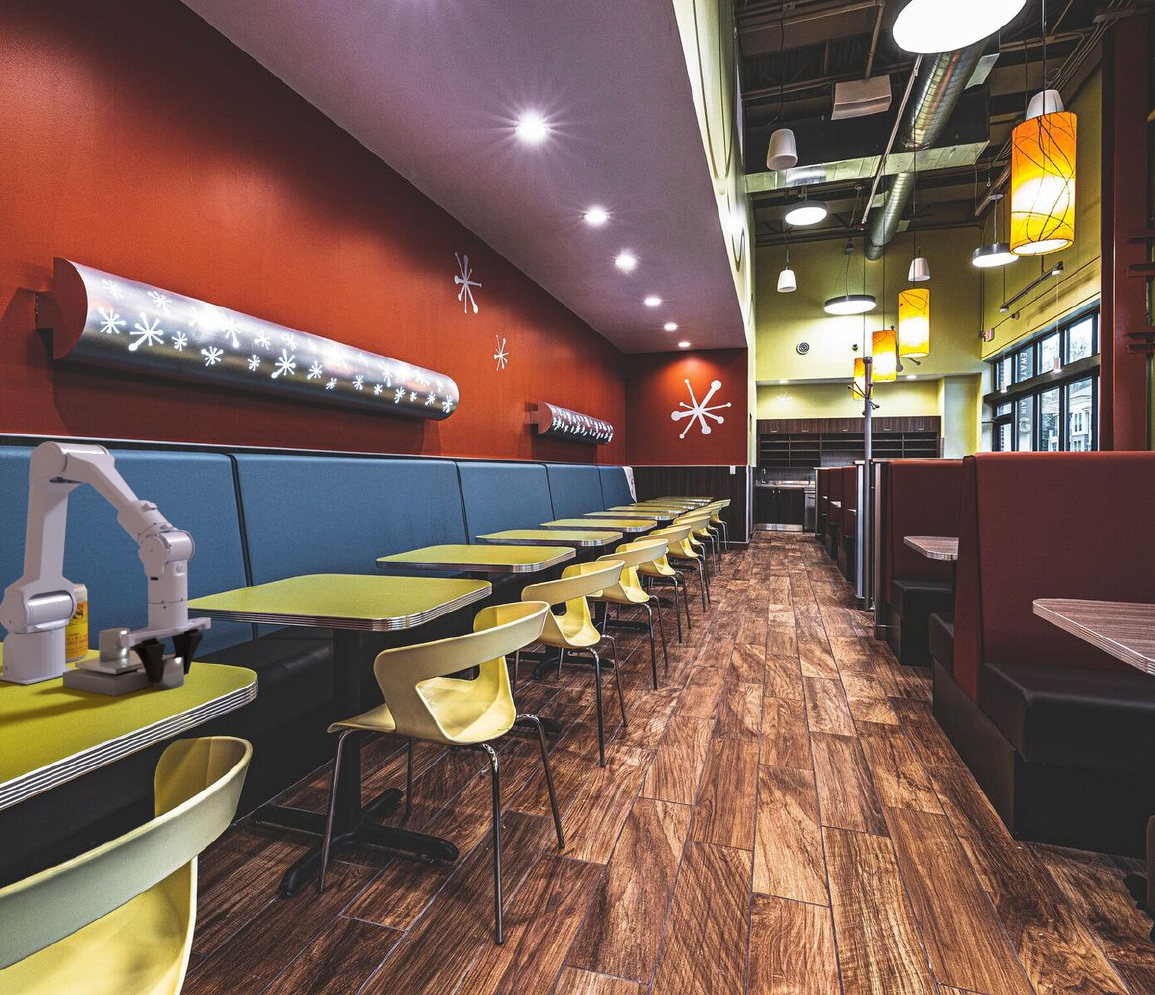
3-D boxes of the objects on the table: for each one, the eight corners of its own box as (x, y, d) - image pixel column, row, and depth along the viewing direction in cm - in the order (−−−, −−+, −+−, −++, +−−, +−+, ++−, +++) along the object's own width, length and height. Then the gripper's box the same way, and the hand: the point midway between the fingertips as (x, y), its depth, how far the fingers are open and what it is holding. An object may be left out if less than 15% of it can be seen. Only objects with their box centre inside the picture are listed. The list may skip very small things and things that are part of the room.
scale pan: (75, 667, 107) (74, 662, 107) (128, 654, 116) (128, 650, 116) (115, 674, 103) (115, 669, 103) (168, 660, 112) (168, 655, 112)
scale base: (62, 686, 106) (62, 669, 106) (134, 667, 117) (134, 652, 117) (115, 696, 101) (114, 678, 101) (184, 675, 112) (184, 659, 112)
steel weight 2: (147, 688, 105) (147, 659, 105) (172, 680, 109) (172, 653, 109) (165, 691, 104) (164, 662, 103) (189, 683, 108) (189, 655, 108)
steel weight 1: (95, 659, 109) (94, 631, 109) (123, 653, 113) (123, 626, 113) (105, 662, 107) (105, 634, 107) (134, 657, 111) (133, 629, 111)
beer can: (65, 664, 119) (64, 588, 119) (40, 663, 121) (39, 587, 120) (95, 656, 125) (94, 584, 125) (71, 654, 127) (70, 583, 126)
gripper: (140, 609, 98) (141, 693, 98) (222, 595, 111) (222, 668, 112) (112, 606, 101) (113, 688, 101) (195, 592, 114) (196, 664, 114)
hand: (169, 677), depth 106 cm, fingers closed on steel weight 2, 4 cm apart
